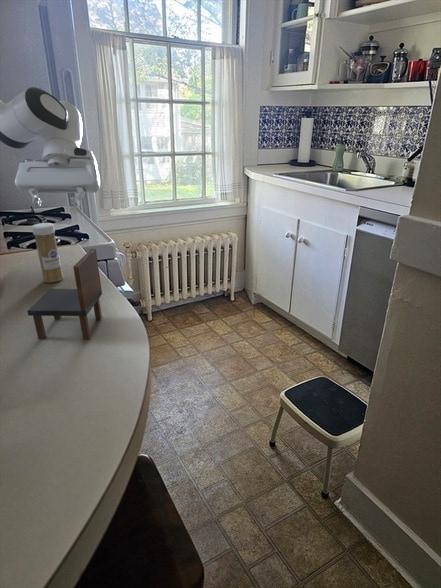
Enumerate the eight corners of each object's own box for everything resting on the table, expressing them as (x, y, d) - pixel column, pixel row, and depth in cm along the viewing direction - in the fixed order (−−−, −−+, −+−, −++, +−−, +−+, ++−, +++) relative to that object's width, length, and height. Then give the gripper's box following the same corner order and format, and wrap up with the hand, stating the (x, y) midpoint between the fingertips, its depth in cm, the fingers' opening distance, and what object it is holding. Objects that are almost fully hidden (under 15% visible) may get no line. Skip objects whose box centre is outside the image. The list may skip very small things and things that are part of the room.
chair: (34, 340, 69) (16, 266, 63) (55, 316, 77) (41, 248, 71) (90, 341, 68) (77, 266, 62) (105, 317, 77) (95, 248, 71)
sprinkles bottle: (54, 284, 91) (43, 228, 85) (39, 281, 93) (26, 226, 87) (67, 277, 95) (57, 223, 89) (52, 275, 96) (42, 221, 91)
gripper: (14, 151, 98) (6, 198, 93) (97, 150, 99) (93, 197, 94) (25, 167, 104) (18, 213, 99) (103, 166, 105) (100, 211, 100)
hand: (55, 205), depth 96 cm, fingers open, 8 cm apart
